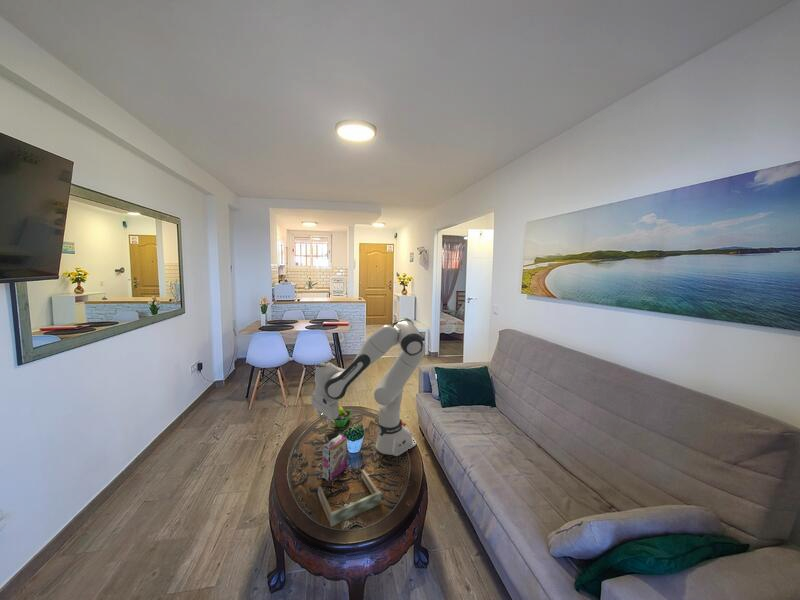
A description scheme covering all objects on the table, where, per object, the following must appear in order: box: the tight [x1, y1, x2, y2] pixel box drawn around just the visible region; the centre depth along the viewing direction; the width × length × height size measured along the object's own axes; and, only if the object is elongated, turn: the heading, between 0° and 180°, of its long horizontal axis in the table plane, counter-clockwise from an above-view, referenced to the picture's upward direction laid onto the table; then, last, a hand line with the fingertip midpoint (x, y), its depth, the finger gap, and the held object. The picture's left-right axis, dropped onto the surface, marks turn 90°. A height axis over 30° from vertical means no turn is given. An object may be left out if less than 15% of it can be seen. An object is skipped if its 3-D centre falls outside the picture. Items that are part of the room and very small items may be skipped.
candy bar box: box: [321, 434, 348, 483], centre depth 139 cm, size 11×5×16 cm, turn 146°
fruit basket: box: [332, 405, 352, 428], centre depth 181 cm, size 11×9×11 cm
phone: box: [324, 431, 340, 443], centre depth 163 cm, size 8×1×15 cm
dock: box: [317, 469, 382, 527], centre depth 125 cm, size 21×17×5 cm
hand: (324, 420), depth 150 cm, fingers open, 6 cm apart
